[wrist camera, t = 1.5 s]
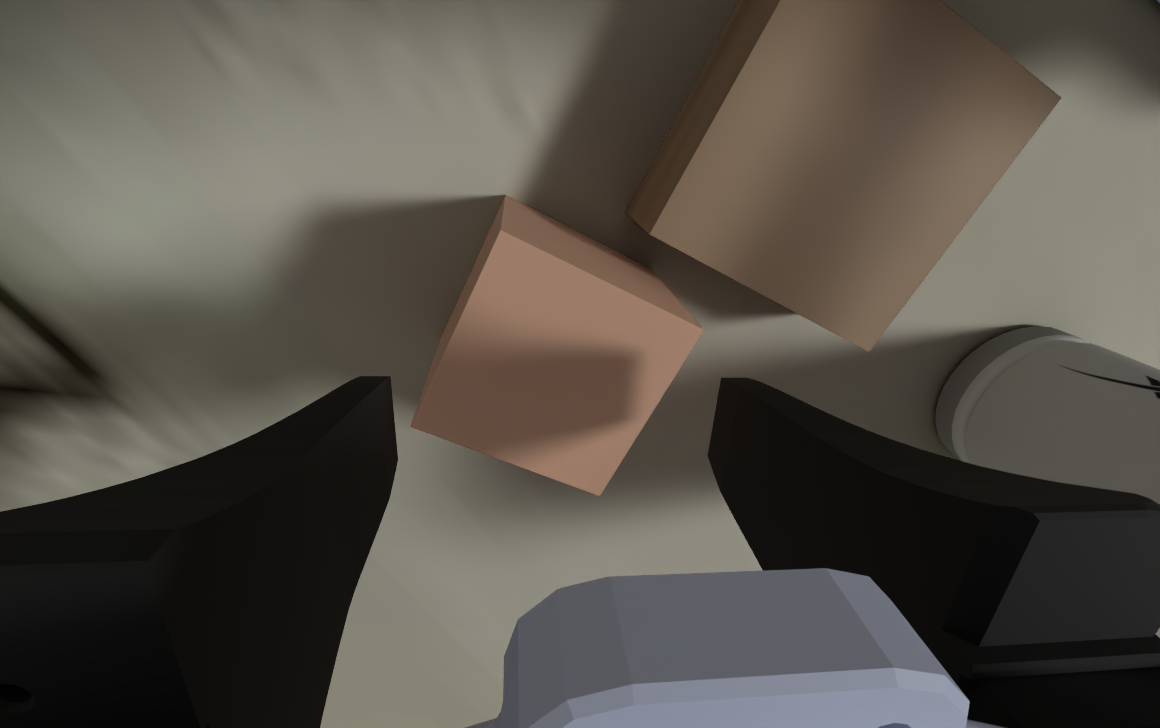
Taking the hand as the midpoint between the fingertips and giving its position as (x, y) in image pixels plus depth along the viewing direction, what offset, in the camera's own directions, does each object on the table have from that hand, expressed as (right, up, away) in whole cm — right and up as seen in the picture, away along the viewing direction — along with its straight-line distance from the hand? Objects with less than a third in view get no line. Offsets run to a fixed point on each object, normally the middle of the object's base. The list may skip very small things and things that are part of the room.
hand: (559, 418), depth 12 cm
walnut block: (+7, +8, +6) cm, 12 cm away
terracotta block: (-1, +3, +7) cm, 8 cm away
